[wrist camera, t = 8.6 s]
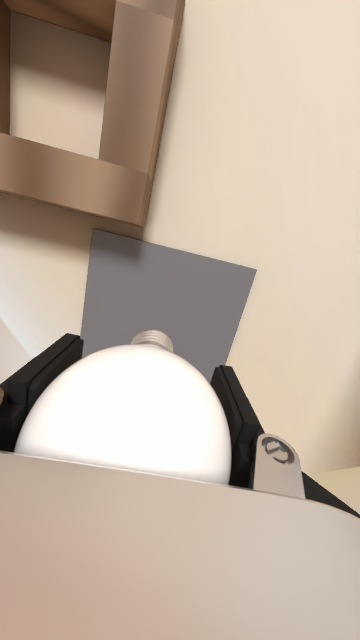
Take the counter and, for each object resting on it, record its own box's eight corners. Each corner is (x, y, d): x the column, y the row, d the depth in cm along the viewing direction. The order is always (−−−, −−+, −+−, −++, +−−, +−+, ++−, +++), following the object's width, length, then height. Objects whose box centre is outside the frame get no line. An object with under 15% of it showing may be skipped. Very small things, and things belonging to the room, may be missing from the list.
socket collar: (185, -1, 14) (187, -64, 11) (144, 228, 18) (138, 224, 16) (-47, -82, 13) (-108, -174, 10) (-35, 182, 17) (-77, 169, 14)
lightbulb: (182, 396, 16) (198, 673, 6) (94, 371, 15) (-81, 641, 5) (215, 315, 14) (331, 499, 4) (117, 283, 13) (-76, 402, 3)
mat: (255, 269, 20) (256, 269, 19) (216, 384, 23) (217, 387, 23) (94, 228, 18) (92, 228, 18) (79, 357, 22) (77, 359, 21)
